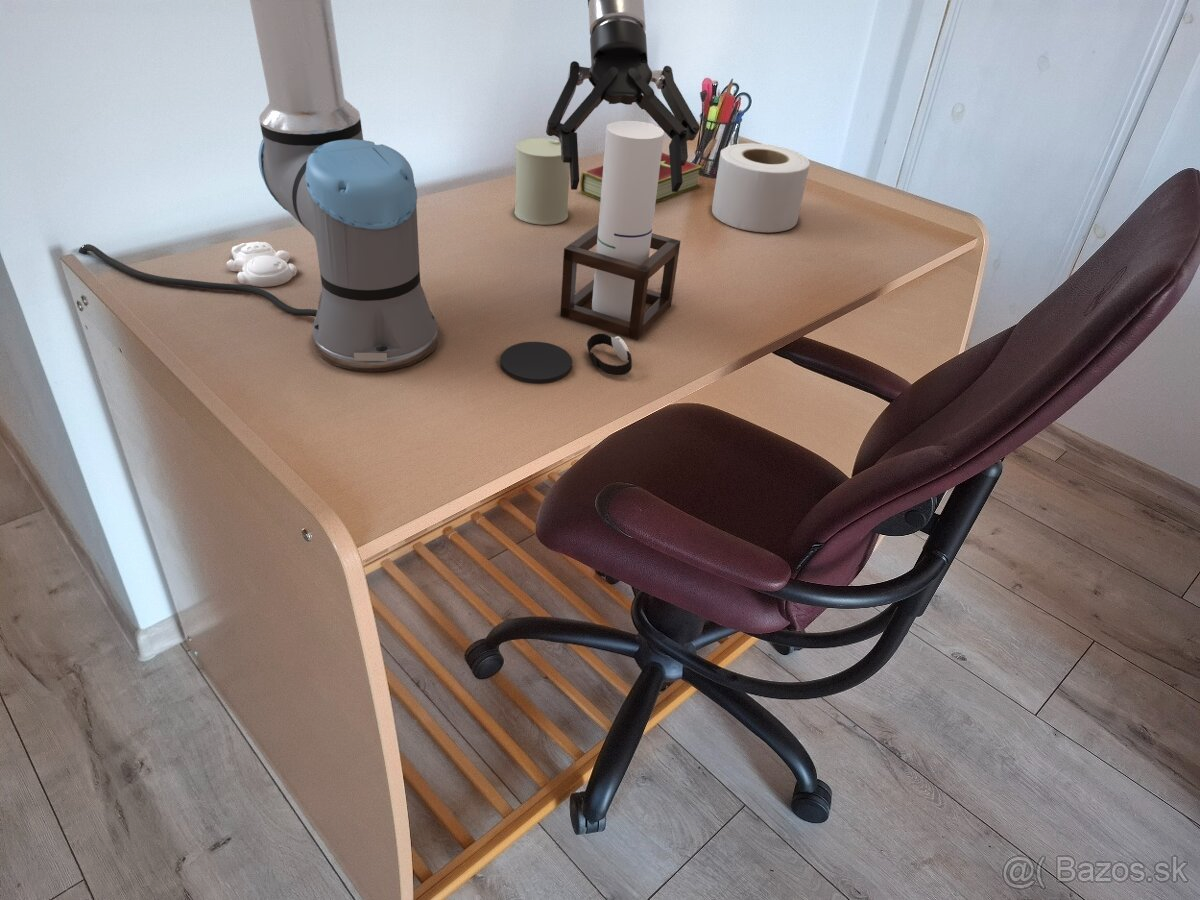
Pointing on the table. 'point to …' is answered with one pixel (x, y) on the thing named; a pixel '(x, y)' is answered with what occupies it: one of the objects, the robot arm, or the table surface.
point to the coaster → (536, 362)
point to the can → (541, 182)
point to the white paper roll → (759, 187)
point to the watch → (619, 348)
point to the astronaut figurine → (261, 264)
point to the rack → (639, 273)
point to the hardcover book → (690, 172)
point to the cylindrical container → (626, 209)
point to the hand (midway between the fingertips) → (626, 186)
